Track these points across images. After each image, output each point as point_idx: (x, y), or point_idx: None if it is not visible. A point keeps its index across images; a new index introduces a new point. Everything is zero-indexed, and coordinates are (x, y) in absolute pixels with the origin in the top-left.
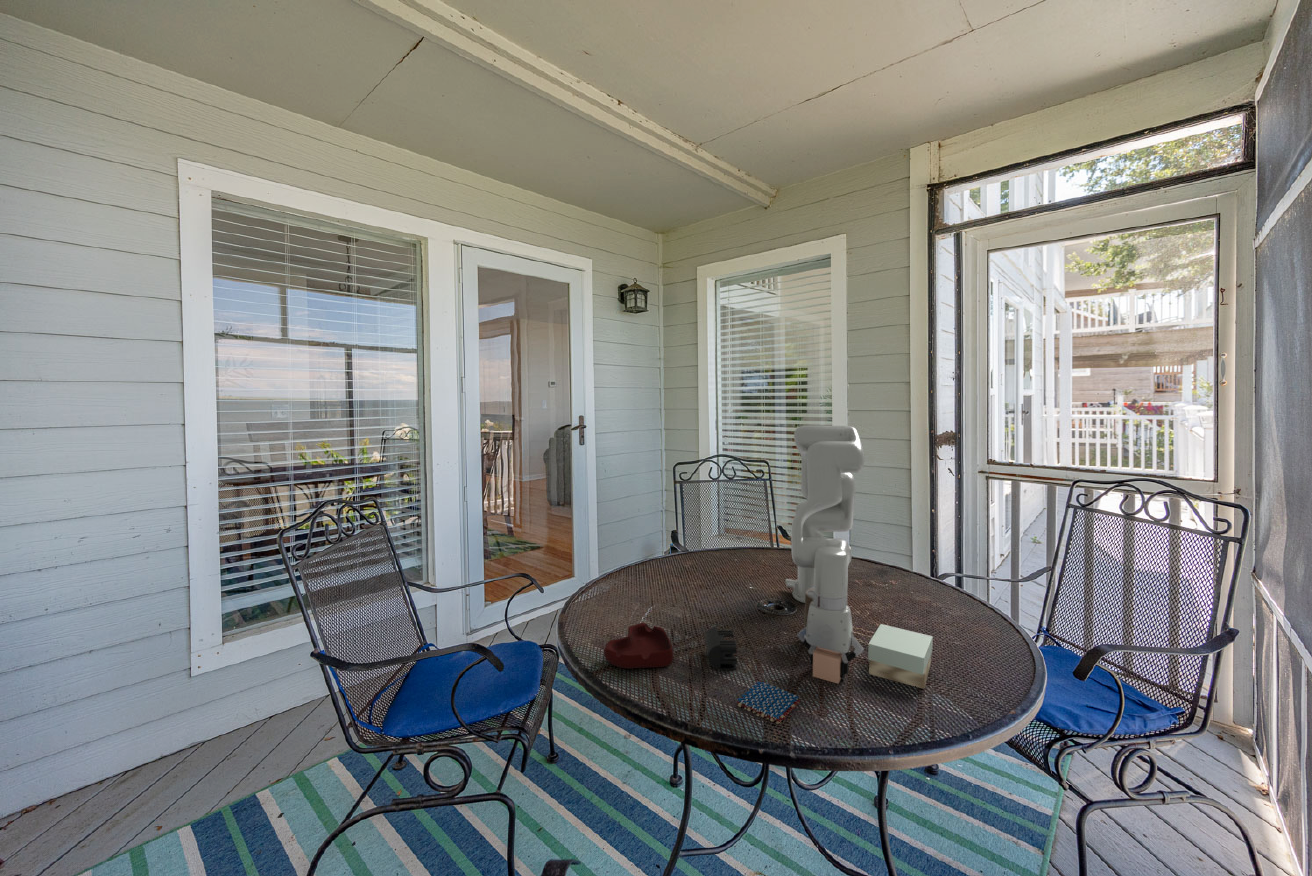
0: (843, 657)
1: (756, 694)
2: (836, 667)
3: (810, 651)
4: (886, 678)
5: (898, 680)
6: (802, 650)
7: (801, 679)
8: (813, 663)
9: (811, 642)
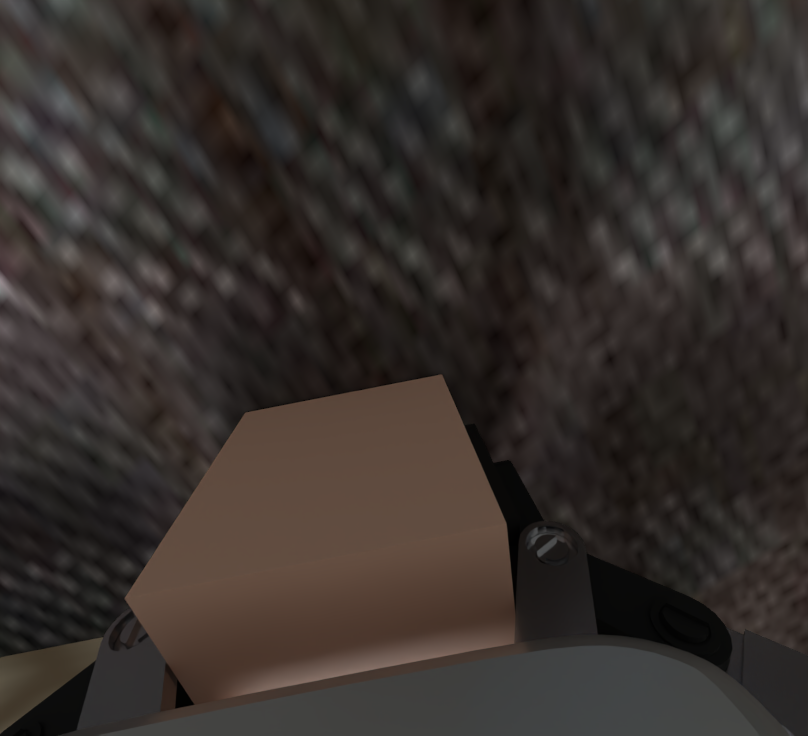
0: (137, 663)
1: None
2: (212, 498)
3: (558, 548)
4: (82, 642)
5: (8, 664)
6: None
7: (495, 275)
8: (461, 433)
9: (628, 700)
